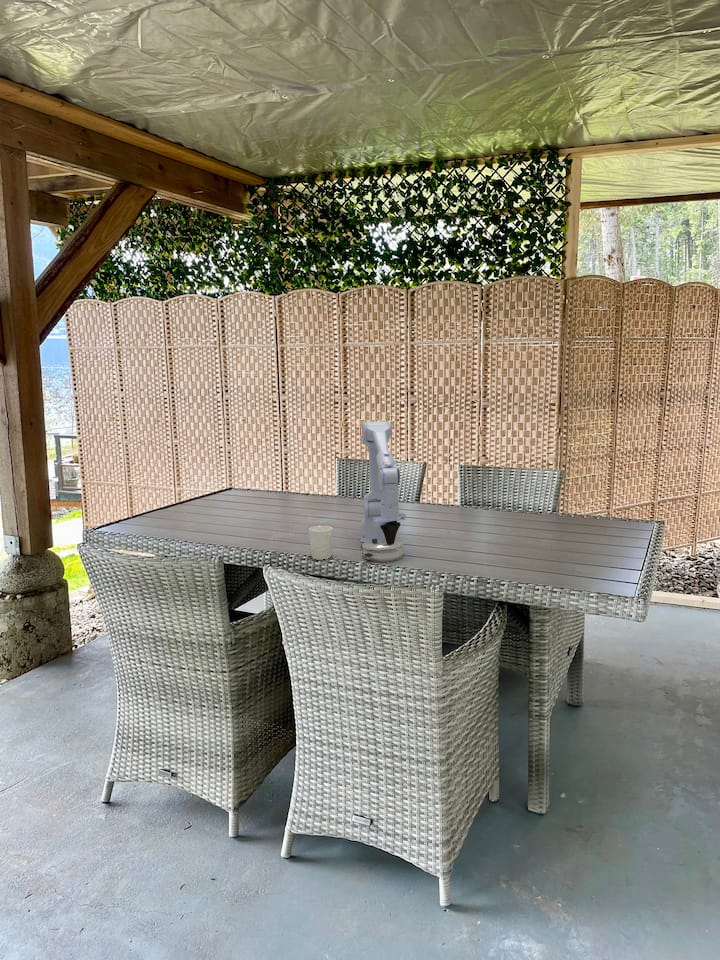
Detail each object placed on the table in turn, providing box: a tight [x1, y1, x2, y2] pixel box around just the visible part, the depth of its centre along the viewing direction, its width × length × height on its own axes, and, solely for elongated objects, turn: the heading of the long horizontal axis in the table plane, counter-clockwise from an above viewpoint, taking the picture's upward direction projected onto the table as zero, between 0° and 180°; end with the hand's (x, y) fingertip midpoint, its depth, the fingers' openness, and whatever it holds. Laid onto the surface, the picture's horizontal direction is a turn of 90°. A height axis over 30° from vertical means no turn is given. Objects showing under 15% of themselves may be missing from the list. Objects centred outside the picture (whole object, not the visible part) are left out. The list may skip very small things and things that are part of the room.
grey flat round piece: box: [360, 543, 403, 563], centre depth 232 cm, size 15×16×3 cm
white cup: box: [308, 525, 334, 561], centre depth 232 cm, size 8×8×10 cm
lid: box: [361, 538, 404, 551], centre depth 231 cm, size 14×14×2 cm
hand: (390, 544), depth 229 cm, fingers closed, pressing on lid
